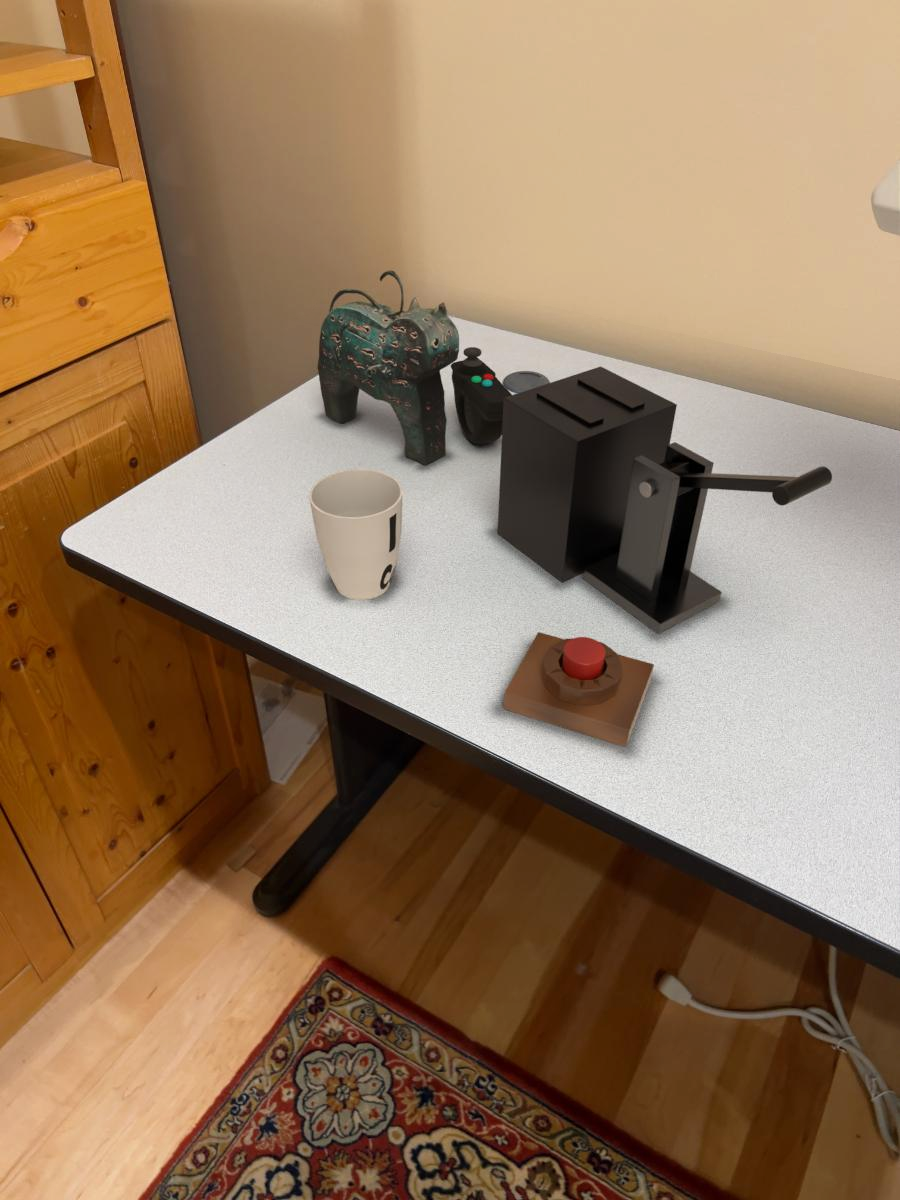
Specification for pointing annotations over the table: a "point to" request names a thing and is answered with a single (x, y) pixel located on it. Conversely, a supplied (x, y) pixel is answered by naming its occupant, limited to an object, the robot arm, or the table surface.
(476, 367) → the controller
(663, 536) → the toaster bracket
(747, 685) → the table surface
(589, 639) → the button
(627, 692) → the control block
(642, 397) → the toaster
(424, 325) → the ceramic cat
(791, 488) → the toaster lever
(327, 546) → the cup
